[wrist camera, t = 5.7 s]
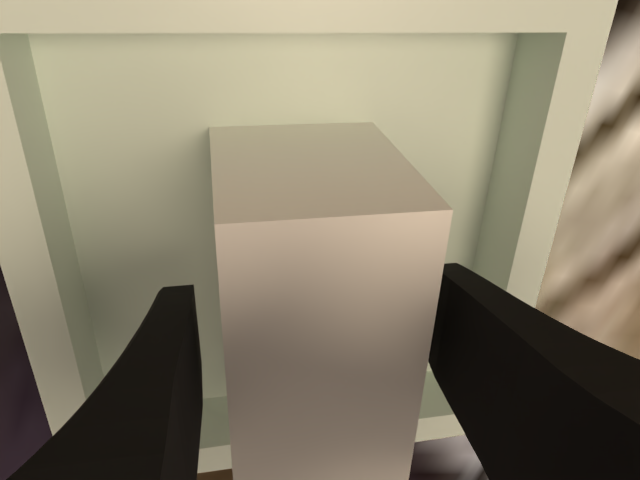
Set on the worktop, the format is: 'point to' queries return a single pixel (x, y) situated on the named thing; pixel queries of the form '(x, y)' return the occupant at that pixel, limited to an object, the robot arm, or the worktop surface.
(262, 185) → the tall beige upright block
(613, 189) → the worktop surface
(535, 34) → the tray
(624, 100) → the worktop surface
